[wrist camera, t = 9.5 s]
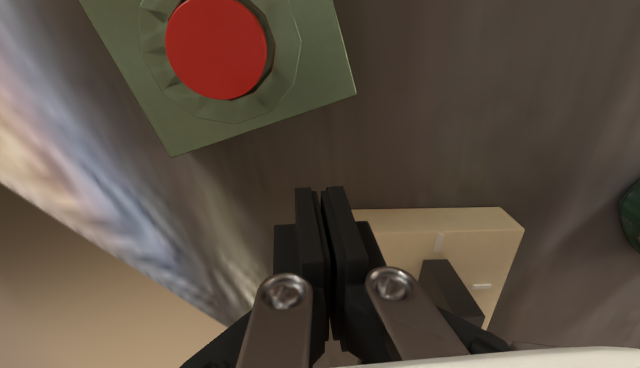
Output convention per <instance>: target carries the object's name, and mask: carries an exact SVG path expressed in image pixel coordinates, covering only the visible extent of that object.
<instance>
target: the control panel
mask: <svg viewBox="0 0 640 368" xmlns="http://www.w3.org/2000/svg"><path fill="white" fill-rule="evenodd" d="M351 211H352V214H353V216H354V219H355V221H368V223H369V224H370V227H371V229H372V232H373V234H374V236H375V239H376V241H377V243H378V246H379V248H380V250H381V253H382V255H383V258H384V260H385V262H386V265H387V266H391V267H397V268H400V269H403V270H405V271H407V272H408V273H410V274H411V275H412V276H413V277H414V278H415V279H416V280H417V281H418V279H419V275H420V271H421V267H422V263H423V260H432V259H448V261H449V262H450V264H451V265H452V267H453V268H454V270H455V271H456V273H457V274H458V276H459V277H460V279H461V280H462V282H463V283H464V285H465V286H466V288H467V289H468V291H469V292H470V294H471V295H472V297H473V298H474V300H475V301H476V303H477V304H478V306H479V307H480V309H481V310H482V312H483V313H484V315H485V320H484V323H483V325H482V329H484V330H486V329H487V327H488V324H489V322H490V319H491V316H492V314H493V311H494V309H495V306H496V303H497V301H498V298H499V296H500V293H501V290H502V288H503V285H504V283H505V280H506V278H507V275H508V272H509V270H510V267H511V265H512V262H513V259H514V257H515V254H516V252H517V249H518V247H519V244H520V241H521V239H522V236H523V234H524V231H525V229H524V228H523V227H522V226H521V225H520V224H518V223H517V222H516V221H515V220H514V219H513V218H512V217H511V216H510V215H508V214H507V213H506V212H505V211H504V210H503V209H502V208H501V207H469V208H412V209H355V210H351Z"/></svg>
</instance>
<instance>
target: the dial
mask: <svg viewBox="0 0 640 368" xmlns="http://www.w3.org/2000/svg"><path fill="white" fill-rule="evenodd" d="M418 283H419V284H420V285H421V287H422V288H423V289H424V291H425V292H426V294H427V295H428V296H429V298H430V299H431V300H432V302H433V303H434V305H436V306H438V307H440V308H442V309H444V310H446V311H448V312H450V313H452V314H454V315H456V316H458V317H460V318H462V319H464V320H466V321H468V322H470V323H472V324H474V325H476V326H478V327H480V328H482V325H483V323H484V320H485V315H484V313H483V312H482V310H481V309H480V307H479V306H478V304H477V303H476V301H475V300H474V298H473V297H472V295H471V294H470V292H469V291H468V289H467V288H466V286H465V285H464V283H463V282H462V280H461V279H460V277H459V276H458V274H457V273H456V271H455V270H454V268H453V267H452V265H451V264H450V262H449V261H448V259H432V260H423V263H422V267H421V271H420V275H419V279H418Z"/></svg>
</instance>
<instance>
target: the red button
mask: <svg viewBox="0 0 640 368" xmlns="http://www.w3.org/2000/svg"><path fill="white" fill-rule="evenodd" d="M165 47H166V53H167V57H168V60H169V62H170V65H171V67H172V69H173V70H174V72H175V74H176V75H177V76H178V78H179V79H180V80H181V81H182V82H183V83H184V84H185V85H186V86H187V87H188V88H190V89H191V90H193V91H194V92H196V93H198V94H200V95H202V96H204V97H207V98H211V99H218V100H227V99H233V98H236V97H239V96H241V95H243V94H245V93H247V92H248V91H249V90H251V89H252V88H253V87H254V86H255V85H256V83H257V82H258V81H259V79H260V77H261V75H262V73H263V70H264V68H265V64H266V60H267V54H268V45H267V39H266V35H265V32H264V29H263V27H262V25H261V23H260V22H259V20H258V19H257V17H256V16H255V15H254V14H253V12H252V11H251V10H250V9H248V8H247V7H246V6H245V5H243V4H242V3H240V2H238V1H236V0H187V1H185V2H184V3H182V4H181V5H180V6H179V7H178V8H177V9H176V10H175V11H174V13H173V14H172V16H171V18H170V20H169V22H168V25H167V28H166V34H165Z"/></svg>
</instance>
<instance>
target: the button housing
mask: <svg viewBox="0 0 640 368" xmlns="http://www.w3.org/2000/svg"><path fill="white" fill-rule="evenodd" d="M185 1H187V0H79V2H80V4H81V5H82V7H83V9H84V10H85V12H86V14H87V16H88V17H89V19H90V21H91V22H92V24H93V26H94V28H95V29H96V31H97V33H98V34H99V36H100V38H101V39H102V41H103V43H104V45H105V46H106V48H107V50H108V51H109V53H110V55H111V57H112V58H113V60H114V62H115V63H116V65H117V67H118V69H119V70H120V72H121V74H122V75H123V77H124V79H125V81H126V82H127V84H128V86H129V87H130V89H131V91H132V93H133V94H134V96H135V98H136V99H137V101H138V103H139V104H140V106H141V108H142V110H143V111H144V113H145V115H146V116H147V118H148V120H149V122H150V123H151V125H152V127H153V128H154V130H155V132H156V134H157V135H158V137H159V139H160V140H161V142H162V144H163V146H164V147H165V149H166V151H167V152H168V154H169V156H170V158H173V157H176V156H179V155H182V154H185V153H188V152H191V151H194V150H197V149H200V148H202V147H205V146H208V145H211V144H214V143H217V142H220V141H223V140H226V139H229V138H232V137H235V136H237V135H240V134H243V133H246V132H249V131H252V130H255V129H258V128H261V127H264V126H267V125H270V124H273V123H275V122H278V121H281V120H284V119H287V118H290V117H293V116H296V115H299V114H302V113H305V112H308V111H310V110H313V109H316V108H319V107H322V106H325V105H328V104H331V103H334V102H337V101H340V100H343V99H345V98H348V97H351V96H354V95H357V92H356V88H355V84H354V80H353V76H352V72H351V69H350V65H349V61H348V57H347V53H346V49H345V46H344V42H343V38H342V34H341V30H340V26H339V23H338V19H337V15H336V11H335V7H334V3H333V0H236V1H238V2H240V3H242V4H243V5H245V6H246V7H247V8H248V9H250V10H251V11H252V12H253V14H254V15H255V16H256V17H257V19H258V20H259V22H260V23H261V25H262V27H263V29H264V32H265V35H266V39H267V45H268V54H267V60H266V64H265V68H264V70H263V73H262V75H261V77H260V79H259V81H258V82H257V83H256V85H255V86H254V87H253V88H252V89H251V90H249V91H248V92H247V93H245V94H243V95H241V96H239V97H236V98H233V99H227V100H218V99H211V98H207V97H204V96H202V95H200V94H198V93H196V92H194V91H193V90H191V89H190V88H188V87H187V86H186V85H185V84H184V83H183V82H182V81H181V80H180V79H179V78H178V76H177V75H176V74H175V72H174V70H173V69H172V67H171V65H170V62H169V60H168V57H167V53H166V47H165V34H166V28H167V25H168V22H169V20H170V18H171V16H172V14H173V13H174V11H175V10H176V9H177V8H178V7H179V6H180V5H181V4H182V3H184V2H185Z"/></svg>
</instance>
